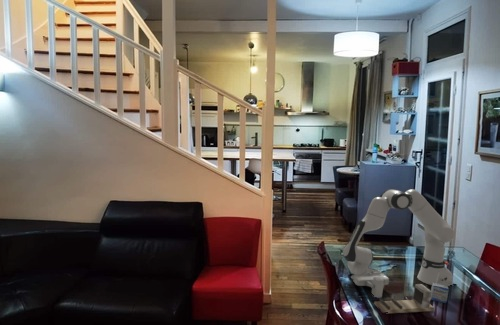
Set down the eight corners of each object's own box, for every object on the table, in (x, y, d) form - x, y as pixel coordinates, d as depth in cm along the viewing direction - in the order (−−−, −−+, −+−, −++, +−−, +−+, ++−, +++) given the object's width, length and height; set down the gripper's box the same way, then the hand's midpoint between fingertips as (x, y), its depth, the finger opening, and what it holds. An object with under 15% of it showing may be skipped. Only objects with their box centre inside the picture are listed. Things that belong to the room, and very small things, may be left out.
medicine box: (430, 300, 203) (433, 285, 202) (429, 296, 207) (432, 282, 206) (446, 303, 200) (449, 289, 199) (445, 299, 204) (447, 285, 203)
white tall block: (378, 293, 205) (380, 276, 204) (382, 297, 201) (384, 280, 200) (371, 293, 204) (373, 277, 203) (375, 297, 200) (377, 280, 199)
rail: (423, 302, 199) (426, 283, 197) (433, 310, 192) (436, 291, 190) (373, 305, 193) (376, 285, 191) (382, 313, 185) (385, 293, 183)
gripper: (349, 270, 212) (362, 282, 199) (381, 269, 217) (395, 280, 203) (348, 280, 213) (360, 292, 200) (379, 279, 218) (393, 291, 204)
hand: (378, 286), depth 202 cm, fingers closed on white tall block, 4 cm apart
